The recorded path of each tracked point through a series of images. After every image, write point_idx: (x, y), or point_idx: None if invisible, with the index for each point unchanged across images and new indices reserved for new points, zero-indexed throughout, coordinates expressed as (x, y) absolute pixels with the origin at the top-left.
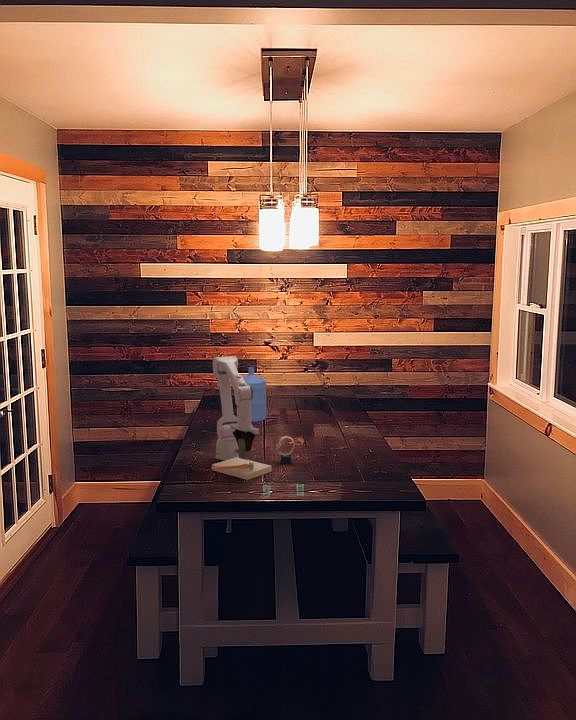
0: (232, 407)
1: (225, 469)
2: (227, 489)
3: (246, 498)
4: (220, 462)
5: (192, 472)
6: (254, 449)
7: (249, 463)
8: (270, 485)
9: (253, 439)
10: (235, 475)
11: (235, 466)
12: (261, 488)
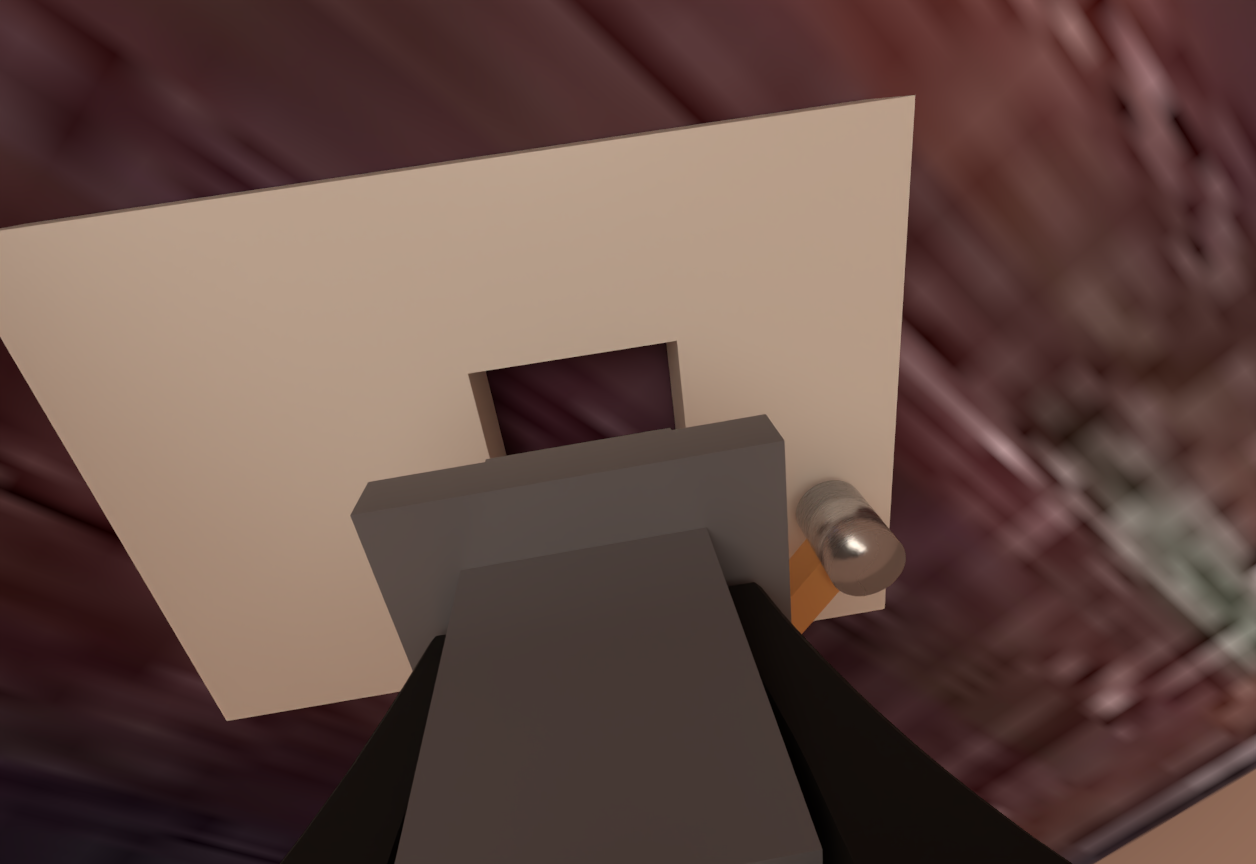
0: None
1: None
2: None
3: (1159, 778)
4: (177, 608)
5: (222, 815)
6: (777, 475)
7: (856, 592)
8: (1183, 486)
9: (995, 815)
10: None
11: None
12: (1144, 595)
